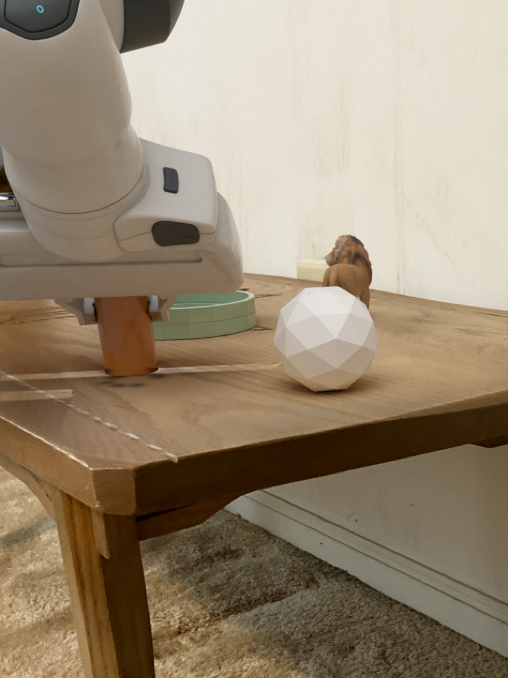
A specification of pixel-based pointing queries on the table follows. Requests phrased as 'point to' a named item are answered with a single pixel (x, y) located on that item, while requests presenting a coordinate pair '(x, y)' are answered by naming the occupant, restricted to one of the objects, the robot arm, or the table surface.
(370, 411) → the table surface
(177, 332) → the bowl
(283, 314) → the geometric ball
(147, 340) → the spice jar
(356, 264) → the lion figurine
